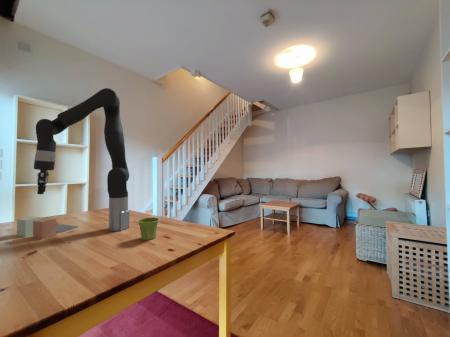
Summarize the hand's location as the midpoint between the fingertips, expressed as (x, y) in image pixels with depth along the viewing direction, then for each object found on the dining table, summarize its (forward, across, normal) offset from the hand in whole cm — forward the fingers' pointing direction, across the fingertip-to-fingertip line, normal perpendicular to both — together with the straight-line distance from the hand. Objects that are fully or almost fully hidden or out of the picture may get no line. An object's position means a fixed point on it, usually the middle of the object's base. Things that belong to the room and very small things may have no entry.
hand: (41, 192), depth 97 cm
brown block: (+20, -5, -3) cm, 21 cm away
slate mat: (+20, +6, -9) cm, 23 cm away
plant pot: (+16, -38, -42) cm, 58 cm away
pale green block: (+21, +4, +3) cm, 22 cm away
